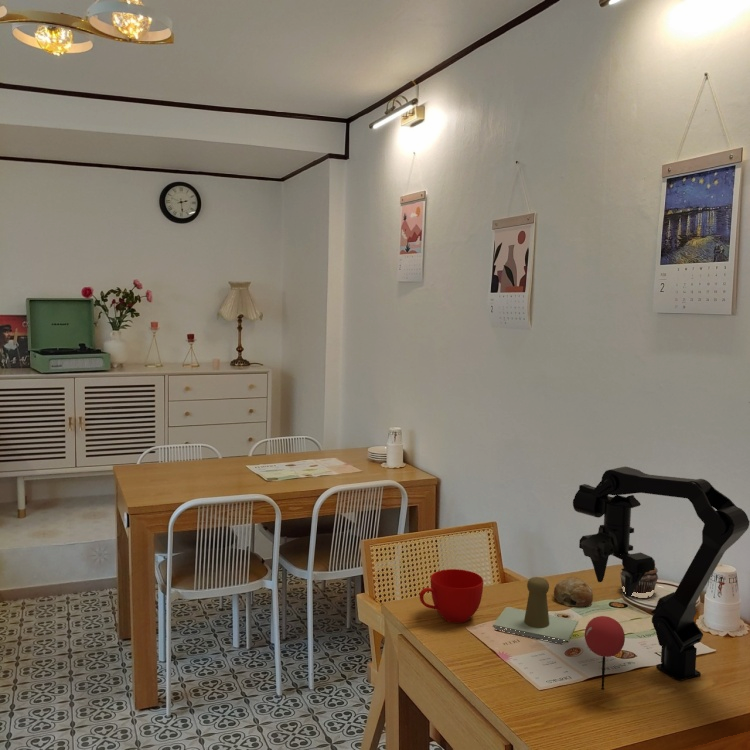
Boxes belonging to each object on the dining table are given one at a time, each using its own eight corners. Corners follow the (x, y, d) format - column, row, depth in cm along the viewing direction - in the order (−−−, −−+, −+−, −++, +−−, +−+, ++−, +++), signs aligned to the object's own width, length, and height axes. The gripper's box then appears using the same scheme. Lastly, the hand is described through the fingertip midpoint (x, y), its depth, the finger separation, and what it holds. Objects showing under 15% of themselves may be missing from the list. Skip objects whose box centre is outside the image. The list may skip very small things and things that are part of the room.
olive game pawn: (552, 621, 183) (554, 577, 182) (544, 630, 178) (546, 585, 177) (528, 615, 186) (530, 572, 185) (520, 624, 181) (522, 580, 180)
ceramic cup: (406, 615, 187) (407, 576, 186) (462, 603, 194) (464, 566, 193) (433, 636, 175) (434, 594, 174) (492, 622, 183) (494, 583, 182)
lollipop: (591, 675, 158) (595, 607, 156) (627, 688, 153) (631, 617, 151) (576, 689, 152) (579, 618, 150) (613, 703, 147) (616, 629, 145)
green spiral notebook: (578, 622, 184) (578, 620, 184) (568, 642, 173) (568, 640, 173) (506, 608, 191) (506, 606, 191) (492, 626, 181) (492, 624, 181)
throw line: (563, 641, 173) (563, 640, 173) (562, 644, 172) (562, 643, 172) (496, 627, 180) (496, 626, 180) (494, 630, 179) (494, 629, 179)
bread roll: (552, 615, 197) (552, 593, 193) (555, 586, 205) (555, 565, 201) (591, 620, 194) (592, 598, 190) (592, 591, 202) (593, 569, 198)
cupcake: (632, 583, 210) (633, 548, 209) (663, 594, 203) (665, 558, 202) (612, 591, 204) (613, 555, 203) (644, 602, 197) (645, 565, 196)
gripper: (562, 515, 175) (559, 579, 177) (618, 538, 158) (614, 610, 160) (599, 510, 180) (596, 573, 181) (658, 532, 163) (654, 602, 164)
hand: (613, 588), depth 172 cm, fingers open, 9 cm apart
